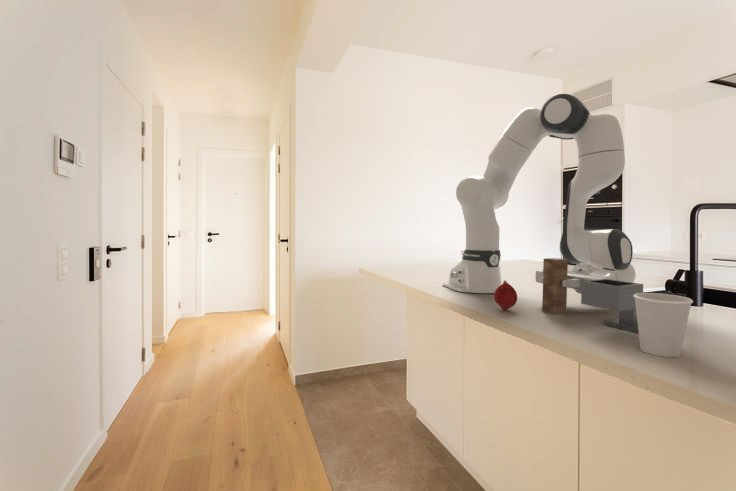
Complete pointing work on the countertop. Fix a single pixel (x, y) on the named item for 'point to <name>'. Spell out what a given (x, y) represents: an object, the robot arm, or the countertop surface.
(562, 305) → the rail post
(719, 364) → the countertop surface
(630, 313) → the box
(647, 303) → the dixie cup
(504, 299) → the onion
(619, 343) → the countertop surface
